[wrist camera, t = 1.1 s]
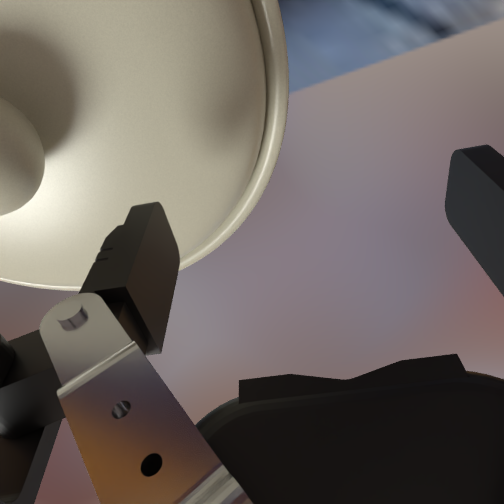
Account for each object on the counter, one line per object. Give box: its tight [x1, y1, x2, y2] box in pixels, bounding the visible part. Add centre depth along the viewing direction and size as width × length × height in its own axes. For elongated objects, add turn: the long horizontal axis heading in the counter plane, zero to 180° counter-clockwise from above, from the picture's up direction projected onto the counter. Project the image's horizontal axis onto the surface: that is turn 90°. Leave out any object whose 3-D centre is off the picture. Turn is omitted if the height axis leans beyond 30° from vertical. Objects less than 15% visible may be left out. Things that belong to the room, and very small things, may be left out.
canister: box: [0, 0, 289, 291], centre depth 17 cm, size 18×18×21 cm
